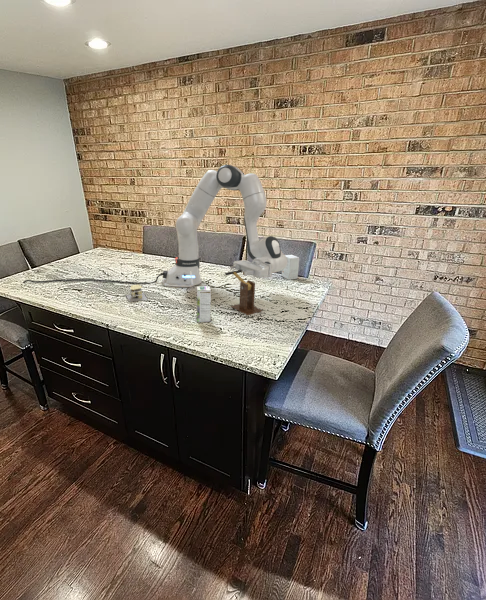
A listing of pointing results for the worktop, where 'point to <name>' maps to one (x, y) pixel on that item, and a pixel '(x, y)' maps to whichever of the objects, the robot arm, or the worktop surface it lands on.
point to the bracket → (247, 299)
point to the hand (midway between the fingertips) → (237, 271)
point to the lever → (239, 277)
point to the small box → (291, 267)
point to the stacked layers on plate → (136, 293)
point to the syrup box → (203, 303)
